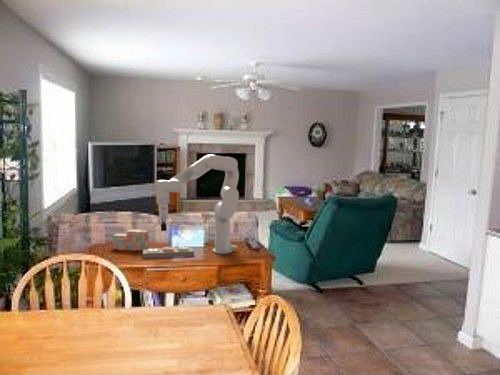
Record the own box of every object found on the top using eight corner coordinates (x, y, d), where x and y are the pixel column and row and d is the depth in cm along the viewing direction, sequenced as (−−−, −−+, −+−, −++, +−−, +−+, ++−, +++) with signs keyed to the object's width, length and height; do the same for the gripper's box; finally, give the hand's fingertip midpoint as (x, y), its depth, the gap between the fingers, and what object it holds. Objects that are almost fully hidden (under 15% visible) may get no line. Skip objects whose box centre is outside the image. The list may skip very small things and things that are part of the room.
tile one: (157, 252, 271) (157, 248, 271) (158, 254, 266) (158, 250, 266) (148, 252, 270) (148, 248, 270) (148, 255, 265) (148, 250, 264)
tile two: (187, 249, 275) (187, 245, 275) (188, 252, 270) (188, 248, 270) (178, 250, 274) (178, 246, 274) (178, 252, 269) (178, 248, 268)
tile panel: (192, 251, 278) (192, 247, 278) (193, 256, 269) (193, 251, 268) (143, 254, 272) (143, 249, 271) (142, 258, 262) (142, 253, 262)
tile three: (172, 250, 273) (172, 246, 273) (173, 252, 268) (173, 248, 268) (163, 250, 272) (163, 246, 272) (163, 253, 267) (163, 249, 266)
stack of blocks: (112, 249, 282) (112, 230, 280) (116, 247, 288) (116, 228, 286) (145, 251, 279) (145, 231, 278) (148, 248, 286) (148, 229, 284)
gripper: (169, 202, 259) (170, 232, 262) (168, 198, 274) (169, 227, 276) (156, 202, 258) (157, 233, 260) (156, 199, 272) (157, 228, 274)
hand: (163, 230), depth 268 cm, fingers closed
